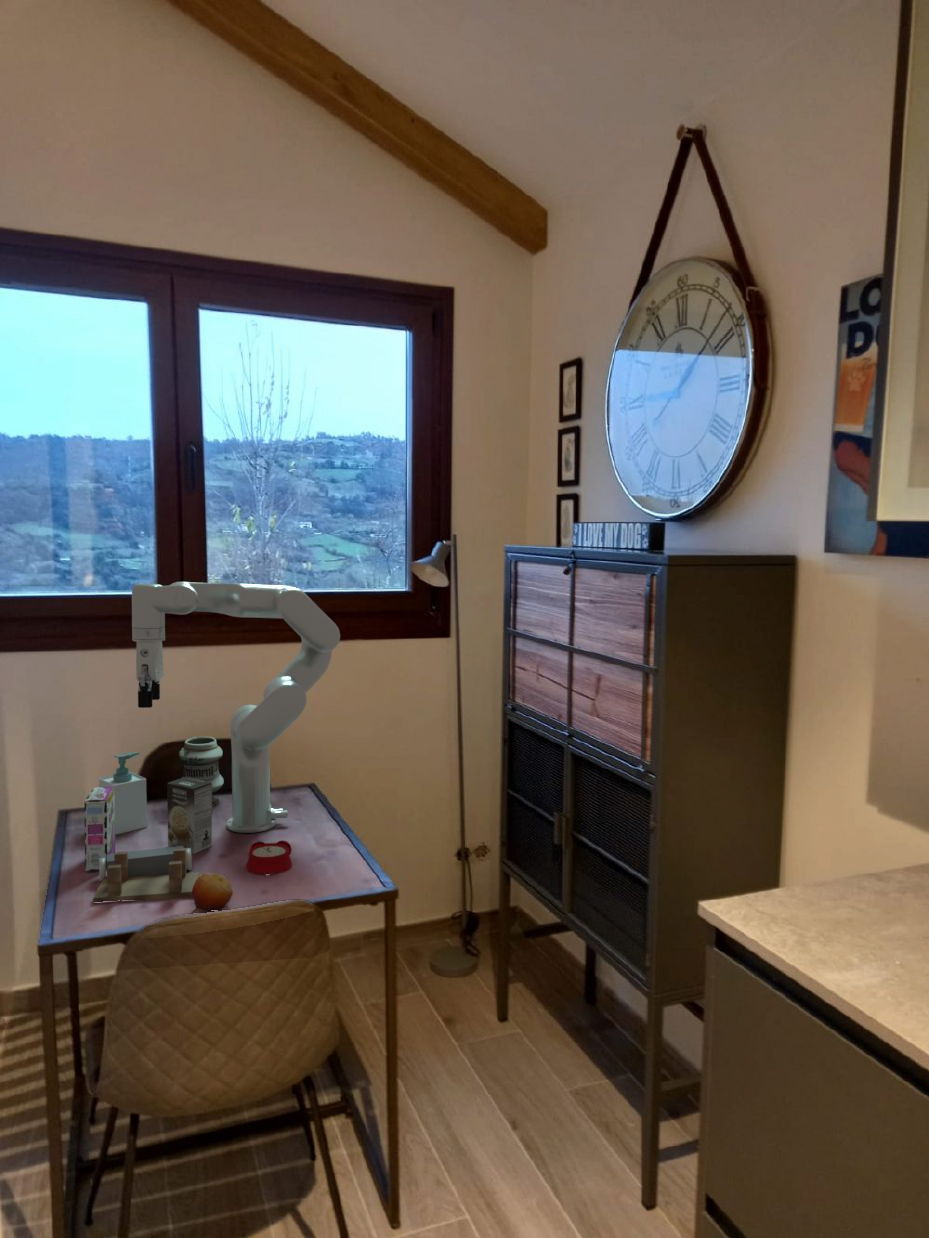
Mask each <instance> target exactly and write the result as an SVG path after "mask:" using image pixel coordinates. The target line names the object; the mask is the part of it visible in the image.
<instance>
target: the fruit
mask: <svg viewBox="0 0 929 1238" xmlns="http://www.w3.org/2000/svg"><path fill="white" fill-rule="evenodd" d="M192 895H193V897H192V898H193V903H194V904H193V905H194V907H195V908H194V910H193V911H192V912H193V913H195V912H196V911H198V910H201V911H203V912H212V911H211V910H220V911H221V910H223V909H224V908H225V907H226V906H227V904H228V903H229V902H230V900H232V899H231V898H232V897H233V889H232V887H231V884H230V882H229V880H228V879H227V878H226V877H225V876H223V875H221V874H218V873H216V872H215V873H214V872H213V873H211V872H209V873H208V872H207V873H206V872H205V873H203V874H201V875H200V877H199V878H198V879H197V880H196V882H195V884H194V886H193V889H192Z"/></svg>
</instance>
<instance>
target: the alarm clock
mask: <svg viewBox="0 0 929 1238" xmlns="http://www.w3.org/2000/svg"><path fill="white" fill-rule="evenodd" d="M291 853H292V846H291V843H289V842H288V841H287V840H278V841H277V842H268V843H265V842H264V841H260V840H259V841H255V842H253V843H252V844H251V846H250V847H249V849H248V852H247V857H248V859H247V861H246V864H245V869H246V871H247V872H249V873H251V874H255V875H264V876H266V874H270V875H275V874H279V873H284V872H287V871H288V870H289V868H290V867H291V866H293V861H292V859H291V857H290V856H291ZM291 868H292V867H291ZM291 868H290V869H291Z"/></svg>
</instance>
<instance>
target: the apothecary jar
mask: <svg viewBox="0 0 929 1238" xmlns="http://www.w3.org/2000/svg"><path fill="white" fill-rule="evenodd" d="M222 757H223V749H222V748H221V747H220V746H219V745H218V743H217V739H216V738H215V737H213V736H194V737H191V738H188V739H186V740H185V741H184V746H183V747H182V748H181V750H180V751H179V752H178V758H179V760H180V761H181V762H182V765H183V767H182V768H183V769H182V771H183V772H182V773H183V774H182V775H183V776H182V777H181V778H183V777H190V778H194V779H198V780H202V781H207V782H211V783H212V794H214V793H216V792H217V791H218V790H220V789H221V788H222V787H223V785H224V777H223V776H222V775H221V774H220V770H219V760H220V759H221V758H222ZM219 800H220V799H219V798H218V797H217V796H215V795H212V807H213V806H215V804H216V805H218V804H219V803H220V801H219ZM218 802H219V803H218Z"/></svg>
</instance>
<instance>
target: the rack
mask: <svg viewBox="0 0 929 1238" xmlns="http://www.w3.org/2000/svg"><path fill="white" fill-rule="evenodd" d="M128 852H129V851H128V850H126V851H115V854H114V860H115V865H109V866H108V868H107V870H106V877H107V876H108V879H107V878H106V879H103V880H102V881H100V884H99V885H98V887H97V890H96V892H95V894H94V896H93V898H92V901H93V902H103V901H118V900H120V901H122V900H143V901H152V900H153V901H155V900H156V901H157V900H168V899H171V900H172V899H185V898H193V895H192V889H193V886H194V884H195V882H196V880H197V879H198V878H199V877H200V876H201V875H200V873H201V872H188V873H187V870H186V848H175V849H174V851H173V861H172V862H169V875H156V876H140V877H128ZM93 902H92V903H93Z"/></svg>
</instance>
